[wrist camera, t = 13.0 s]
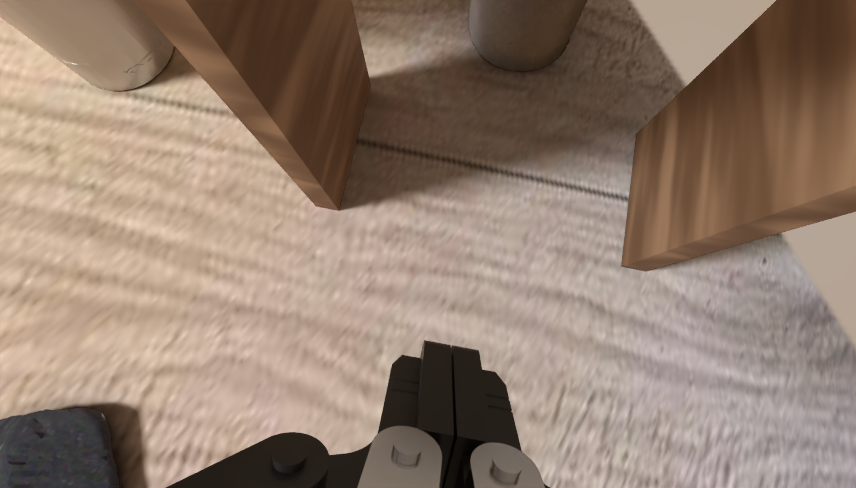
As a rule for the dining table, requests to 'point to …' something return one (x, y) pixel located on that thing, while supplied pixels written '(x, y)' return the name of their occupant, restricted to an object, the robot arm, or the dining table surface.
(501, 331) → the dining table surface
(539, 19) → the pillar candle
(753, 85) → the wooden arch gate
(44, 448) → the dark slate chunk
